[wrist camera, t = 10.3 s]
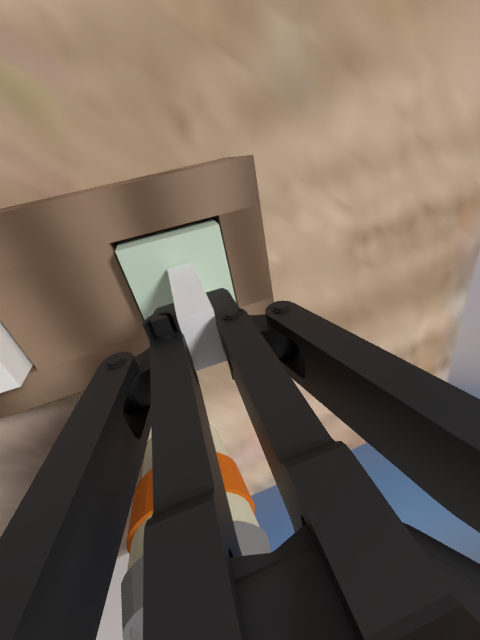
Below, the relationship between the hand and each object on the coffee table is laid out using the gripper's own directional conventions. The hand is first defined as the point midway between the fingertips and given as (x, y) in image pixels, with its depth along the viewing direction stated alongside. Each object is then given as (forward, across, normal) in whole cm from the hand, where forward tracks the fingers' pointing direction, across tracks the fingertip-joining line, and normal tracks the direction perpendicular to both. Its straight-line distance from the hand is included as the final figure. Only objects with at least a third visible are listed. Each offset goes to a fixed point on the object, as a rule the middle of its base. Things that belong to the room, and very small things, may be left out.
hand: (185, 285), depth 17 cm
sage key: (+5, 0, 0) cm, 5 cm away
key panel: (+7, +7, 0) cm, 10 cm away
